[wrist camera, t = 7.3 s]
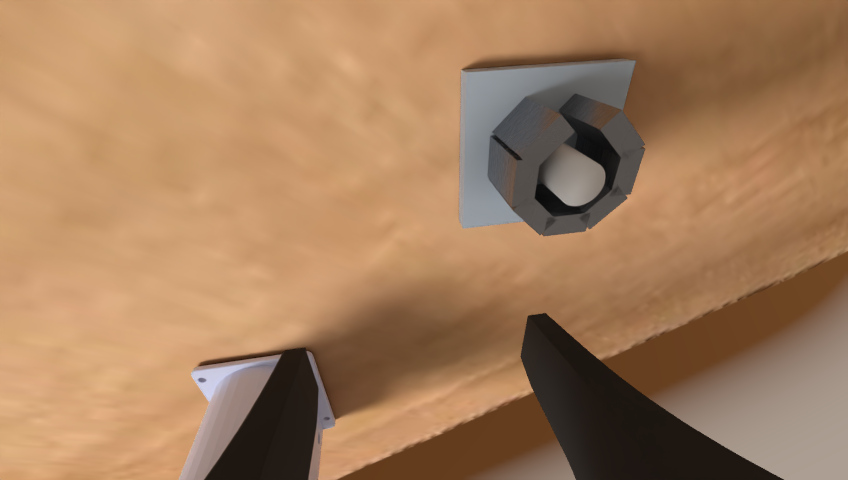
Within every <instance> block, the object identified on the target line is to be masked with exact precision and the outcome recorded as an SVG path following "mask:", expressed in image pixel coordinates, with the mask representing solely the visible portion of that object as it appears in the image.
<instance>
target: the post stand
mask: <svg viewBox="0 0 848 480" xmlns="http://www.w3.org/2000/svg"><path fill="white" fill-rule="evenodd" d="M635 63H636V61H635V60H629V59H608V60H594V61H579V62H565V63H550V64H536V65H522V66H507V67H493V68H478V69H464V70H461V117H460V185H459V221H460V223H461V225H462V227H463V228H472V227H480V226H489V225H498V224H506V223H515V222H523V221H524V220H523V219H522V218H520V217H519V216H518V215H517V214H516V213H515V212H514V211H513V210H512V209H511V208H510V206H509V205H508V204H507V202H506V201H505V200H504V199H503V197H502V196H501V195H500V193H499V192H498V191H497V190H496V188H495V187H494V186H493V184H492V183H491V182H490V181H489V178H488V176H487V173H488V158H489V144H490V136H493V135H494V133H493V132H492V131H493V130H494V129H495V128H496V127H497V126H498V125H499V124H500V123H501V122H502V121H503V120H504V118H505V117H506V116H507V115H508V114H509V113H510V112H511V111H512V110H513V109H514V108H515V107H516V106H517V105H518V104H519V103H520V102H521V101H522V100H523V99H524V97H526V98H528V99H530V100H532V101H534V102H536V103H539V104H541V105H543V106H545V107H547V108H549V109H551V110H553V111H555V112H557V113H559V114H561V113H560V111H559V109H560V108H561V107H562V106H563V105H564V104H565V103H566V102H567V101H568V100H569V99H570V98H571V97H572V96H573V95H574V94H575V93H576V94H579V95H582V96H584V97H587V98H590V99H593V100H596V101H599V102H601V103H604V104H607V105H610V106H613V107H616V108H618V109H621V110H622V111H623V108H624V104H625V100H626V97H627V93H628V89H629V85H630V82H631V78H632V74H633V70H634V66H635ZM561 115H562V114H561ZM562 116H563V115H562ZM563 117H564V116H563ZM564 119H565V118H564ZM565 120H566V119H565ZM566 121H567V120H566ZM568 124H569V123H568ZM569 125H570V124H569ZM570 126H571V125H570ZM572 129H573V128H572ZM573 130H574V129H573ZM574 131H575V130H574ZM577 135H578V134H577V133H576V132H574V133H573V134H572V135H571V136H570V137H569V138H568V139H567V140H566V141H565V142H564V143H563V144H562V145H561V146H560V147H559V148H557V149H556V150H555V151H554V152H553V153H552V154H551V155H550V156H549V157H548V158H547V159H546V160H545V161H544V162H543V163H542V164H541V165H540V166H539V172H538V178H537V184H544V185H545V186H546V187H547V188H549V189H550V190H551V191H552V192H553V193H554V194H555V195H556V196H557V197H558V198H559V199H561V200H562V201H563V202H564V203H565V204H567V205H569V206H580V205H584V204H586V203H588V202H590V201H591V200H593V199H594V198H595V197H596V196H597V195H598V194H599V193H600V191H601V190H602V188H603V186H604V183H605V171H604V169H603V167H602V166H601V165H600V164H598V163H597V162H595V161H593V160H592V159H590V158H588V157H587V156H585V155H584V154H582V153H580V152H579V151H577V150H575V145H576V140H577Z"/></svg>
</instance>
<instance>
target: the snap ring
mask: <svg viewBox="0 0 848 480" xmlns="http://www.w3.org/2000/svg"><path fill="white" fill-rule="evenodd" d="M559 111H560V113H561V114H562V115H563V116H564V117H563V116H562V115H561V114H559V113H557V112H555V111H553V110H551V109H549V108H547V107H545V106H543V105H541V104H539V103H536V102H534V101H532V100H530V99H528V98H526V97H524V99H523V100H522V101H521V102H520V103H519V104H518V105H517V106H516V107H515V108H514V109H513V110H512V111H511V112H510V113H509V114H508V115H507V116H506V117H505V118H504V120H503V121H502V122H501V123H500V124H499V125H498V126H497V127H496V128H495V129H494V130H493V131H492V132H493V133H494V135H493V136H490V144H489V158H488V173H487V176H488V178H489V181H490V182H491V183H492V184H493V186H494V187H495V188H496V190H497V191H498V192H499V193H500V195H501V196H502V197H503V199H504V200H505V201H506V202H507V204H508V205H509V206H510V208H511V209H512V210H513V211H514V212H515V213H516V214H517V215H518V216H519V217H520V218H522V219H523V220H524V221H525V222H526V223H527V224H528V225H529V226H530V227H531V228H533V229H534V230H535V231H536V232H537V233H538V234H539V235H541V234H542V235H543V236H550V235H558V234H567V233H575V232H584V231H586V228H587V227H588V228H589V229H591V228H592V227H593V226H595V225H596V224H597V223H598V222H599V221H601V220H602V219H603V218H604V217H605V216H607V215H608V214H609V213H610V212H611V211H613V210H614V209H615V208H616V207H618V206H619V205H620V204H621V203H622V202H624V201H625V200H626V199H627V197H626V195H628V194H631V191H632V188H633V185H634V182H635V179H636V176H637V173H638V170H639V166H640V163H641V160H642V157H643V154H644V151H645V148H643V146H644V145H645V144H644V142H643V141H642V139H641V138H640V136H639V135H638V133H637V132H636V130H635V129H634V127H633V126H632V124H631V123H630V121H629V120H628V118H627V117H626V115H625V114H624V112H623V111H622V110H621V109H618V108H616V107H613V106H610V105H607V104H604V103H601V102H599V101H596V100H593V99H590V98H587V97H584V96H582V95H579V94H576V93H575V94H574V95H573V96H572V97H571V98H570V99H569V100H568V101H567V102H566V103H565V104H564V105H563V106H562V107H561V108H560V109H559ZM564 118H565V119H566V120H567V121H566V120H565V119H564ZM568 123H569V124H570V125H571V126H570V125H569V124H568ZM572 128H573V129H574V130H575V131H574V130H573V129H572ZM574 132H576V133H577V134H578V135H577V140H576V145H575V150H577V151H579V152H580V153H582V154H584V155H585V156H587V157H588V158H590V159H592V160H593V161H595V162H597V163H598V164H600V165H601V166H602V167H603V169H604V171H605V183H604V186H603V188H602V190H601V191H600V193H599V194H598V195H597V196H596V197H595V198H594V199H593V200H591V201H590V202H588V203H586V204H584V205H580V206H569V205H567V204H565V203H564V202H563V201H562V200H561V199H559V198H558V197H557V196H556V195H555V194H554V193H553V192H552V191H551V190H550V189H549V188H547V187H546V186H545V185H544V184H537V178H538V172H539V166H540V165H541V164H542V163H543V162H544V161H545V160H546V159H547V158H548V157H549V156H550V155H551V154H552V153H553V152H554V151H555V150H556V149H557V148H559V147H560V146H561V145H562V144H563V143H564V142H565V141H566V140H567V139H568V138H569V137H570V136H571V135H572V134H573V133H574Z"/></svg>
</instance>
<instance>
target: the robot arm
mask: <svg viewBox="0 0 848 480" xmlns="http://www.w3.org/2000/svg"><path fill="white" fill-rule="evenodd" d="M521 359H522V362H523V365H524V368H525V370H526V373H527V376H528V379H529V381H530V384H531V387H532V389H533V391H534V393H535V395H536V397H537V399H538V401H539V403H540V405H541V407H542V409H543V411H544V413H545V415H546V417H547V419H548V421H549V423H550V425H551V427H552V429H553V431H554V433H555V435H556V437H557V439H558V441H559V443H560V445H561V447H562V449H563V451H564V453H565V455H566V457H567V459H568V461H569V464H570V466H571V468H572V470H573V473H574V475H575V478H576V480H784V479H782V478H780V477H778V476H776V475H774V474H772V473H770V472H769V471H767V470H765V469H763V468H761V467H759V466H758V465H756V464H754V463H752V462H750V461H748V460H746V459H745V458H743V457H741V456H739V455H738V454H736V453H734V452H732V451H730V450H729V449H727V448H725V447H724V446H722V445H720V444H719V443H717V442H715V441H714V440H712V439H710V438H709V437H707V436H705V435H704V434H702V433H701V432H699V431H697V430H695V429H694V428H692V427H690V426H689V425H688V424H686V423H684V422H683V421H681V420H680V419H678V418H677V417H675V416H674V415H672V414H671V413H669V412H668V411H666V410H665V409H663V408H662V407H660V406H659V405H658V404H656V403H655V402H653V401H652V400H650V399H649V398H647V397H646V396H645V395H643V394H642V393H640V392H639V391H638V390H636V389H635V388H634V387H633V386H631V385H630V384H628V383H627V382H626V381H625V380H623V379H622V378H621V377H619V376H618V375H617V374H616V373H614V372H613V371H612V370H611V369H609V368H608V367H607V366H606V365H605V364H603V363H602V362H601V361H600V360H599V359H597V358H596V357H595V356H594V355H593V354H591V353H590V352H589V351H588V350H587V349H586V348H584V347H583V346H582V345H581V344H580V343H579V342H577V341H576V340H575V339H574V338H573V337H572V336H571V335H570V334H568V333H567V332H566V331H565V330H564V329H563V328H562V327H561V326H559V325H558V324H557V323H556V322H555V321H554V320H553V319H551V318H550V317H549V316H548V315H547V314H546V313H543V314H536V315H530V316H528V318H527V324H526V329H525V335H524V340H523V346H522V351H521ZM191 376H192V378H193V379H194V380H195V382H196V383H197V385H198V386H199V388H200V389H201V391H202V392H203V394H204V395H205V397H206V398H207V400H208V401H209V405H208V407H207V410H206V412H205V415H204V417H203V420H202V422H201V425H200V427H199V430H198V432H197V435H196V437H195V440H194V442H193V445H192V447H191V450H190V452H189V455H188V457H187V460H186V462H185V465H184V467H183V470H182V472H181V475H180V477H179V480H318V475H319V465H320V455H321V445H322V434H323V429H328V428H332V427H334V426H335V418H334V415H333V412H332V409H331V406H330V403H329V400H328V397H327V394H326V392H325V389H324V386H323V383H322V380H321V377H320V374H319V371H318V368H317V365H316V362H315V359H314V357H313V354H312V353H311V352H309V351H306V349H305V348H300V349H293V350H286V351H284V352H283V353H282V354H280V355H273V356H267V357H260V358H253V359H246V360H239V361H233V362H226V363H219V364H212V365H205V366H199V367H195V368H194V369H193V371H192V373H191Z"/></svg>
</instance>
